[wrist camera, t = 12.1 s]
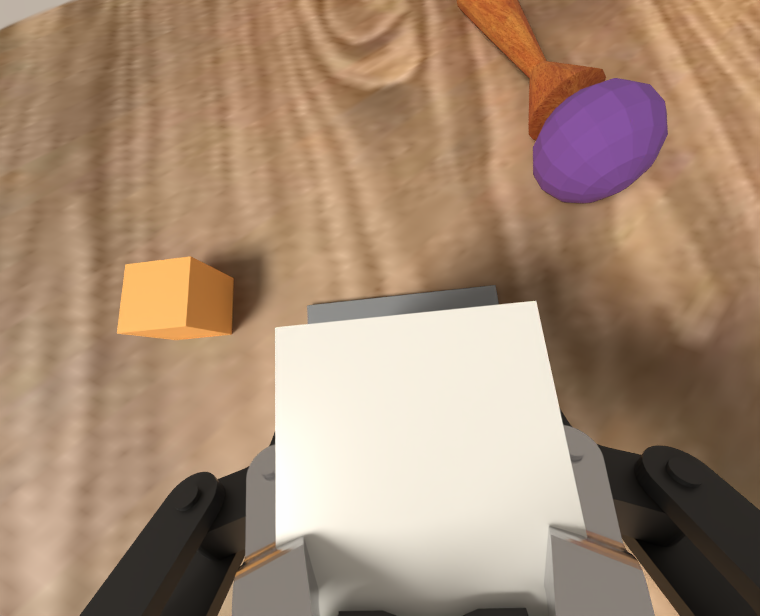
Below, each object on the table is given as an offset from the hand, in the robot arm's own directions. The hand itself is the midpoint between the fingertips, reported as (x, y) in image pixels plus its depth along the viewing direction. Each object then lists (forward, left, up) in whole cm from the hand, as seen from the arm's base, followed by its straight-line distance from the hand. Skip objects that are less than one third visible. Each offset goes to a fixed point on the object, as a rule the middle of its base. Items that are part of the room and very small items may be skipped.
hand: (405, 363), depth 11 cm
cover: (+2, +1, -4) cm, 5 cm away
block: (+1, -14, -6) cm, 16 cm away
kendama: (-21, +3, -7) cm, 22 cm away
